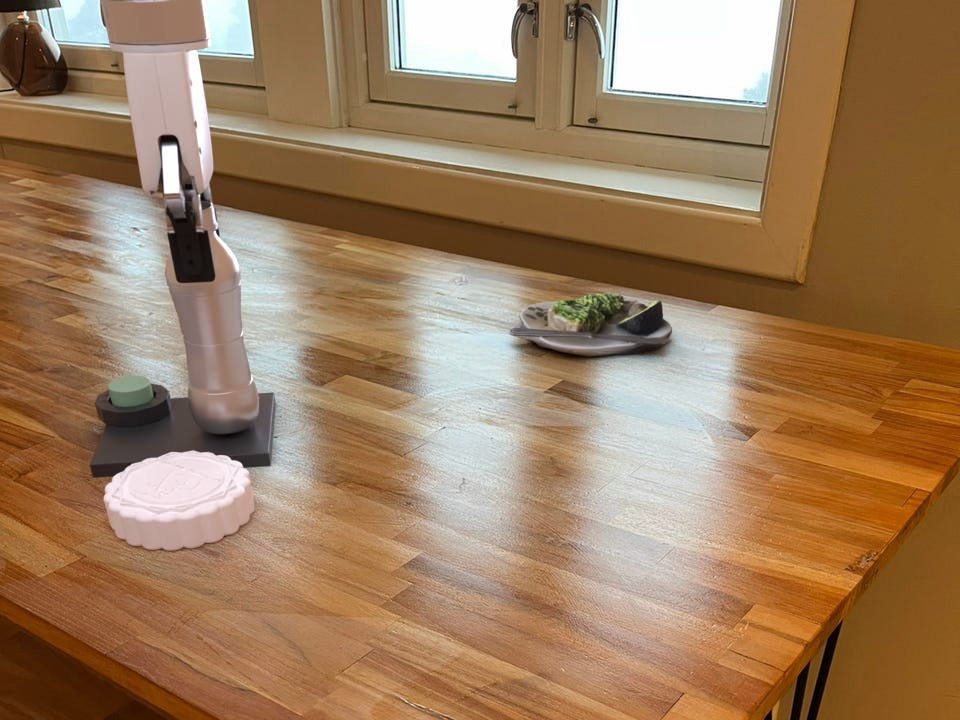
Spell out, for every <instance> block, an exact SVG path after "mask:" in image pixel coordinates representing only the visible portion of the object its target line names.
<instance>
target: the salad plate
mask: <svg viewBox="0 0 960 720" xmlns="http://www.w3.org/2000/svg"><path fill="white" fill-rule="evenodd" d="M518 316H519V320H520V322H521V324H522V327H513V328H511V329H510V330H509V335H510V336H512V337H516V338H519V339H523V340H528V341H531V342H533V343H535V344H537V346H538V347H541V348H544V349H548V350H552V351H556V352H560V353H564V354H570V355H575V356H580V357H600V356H602V357H603V356H613V355H628V354H630V355H631V354H632V355H633V354H638V353H647V352H651V351H655V350H657V349H659V348H661V347H662V346H663V345H665V344H668V343H672V340H671V339H670V336H672V334H673V328H672V325H671V324H670V323H669V321H667V320H666V319H665V318H664V310H663V303H662V301H661V300H660V299H655V300H654V301H652V302H649V303H648V305H647V303H645V302H643V301H641V300H639V299H638V298H637V299H636V298H633V297H629V296H623V295H621V294H618V295H617V294H616V293H613V294H612V293H597V292H596V293H595V294H594V295H593V294H591V293H590V294H589V295H584V296H582V297H581V298H572V299H568V300H567V299H559V300H553V301H545V302H536V303H533V304H531V305H529V306H527V307H526V308H524V309H523V310H522V311H521V313H520V314H519V315H518Z"/></svg>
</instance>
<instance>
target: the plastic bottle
mask: <svg viewBox="0 0 960 720" xmlns="http://www.w3.org/2000/svg"><path fill="white" fill-rule="evenodd" d="M187 202H189V203H190V205H191V206H192V207H193V204H192V201H187ZM214 208H215V207H214V203H213V204H212V203H210V202H206V201H201V209H202V217H203V226H204V230H208V233H209V239H210V245H211V251H212V257H213V263H214V269H215V275H216V277H215V280H214V281H213V282H199V283H179V282H178V281H177V280H176V276H175V271H174V266H173V261H172V256H171V250H170V249H169V253H168V255H167V258H166V261H165V267H164V277H165V280H166V285H167V287H168V291H169V294H170V297H171V300H172V303H173V306H174V310H175V312H176V315H177V319H178V323H179V327H180V333H181V334H182V336H183V337H182V340H183V344H184V348H185V358H186V367H187V376H188V377H187V378H188V383H187V384H188V385H187V386H188V387H187V397H188V402H189V409H190V412H191V414H192V417H193V420H194V422H195V423H196V424H197V425H198V426H199V427H200V428H201V429H202V430H203V431H205V432H208V433H212V434H230V433H235V432H239V431H242V430H245V429H247V428H249V427H250V426H251V425H253V423H254V422H255V420H256V418H257V416H258V414H259V396H258V393H259V392H258V388H257V385H256V382H255V380H254V376H253V375H252V372H251V367H250V362H249V358H248V354H247V350H246V344H245V340H244V338H245V337H244V331H243V318H242V281H241V279H242V275H241V266H240V264H239V262H238V258H237V257H236V256H235V254H234V253H233V251H232V249H230V248H229V246H228V245H227V244H226V243H225V242H224V241H223V239H221V237H220V238H219V237H218V236H217V234H216V231H215V230H216V229H218V227H219V222H217V221H218V219H217V220H216V217H215V211H214ZM192 212H193V209H192Z"/></svg>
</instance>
